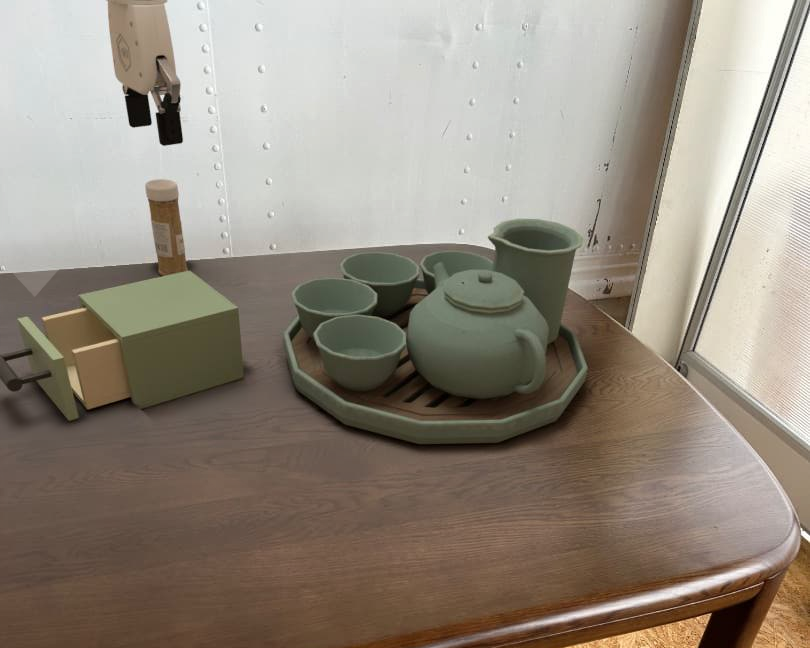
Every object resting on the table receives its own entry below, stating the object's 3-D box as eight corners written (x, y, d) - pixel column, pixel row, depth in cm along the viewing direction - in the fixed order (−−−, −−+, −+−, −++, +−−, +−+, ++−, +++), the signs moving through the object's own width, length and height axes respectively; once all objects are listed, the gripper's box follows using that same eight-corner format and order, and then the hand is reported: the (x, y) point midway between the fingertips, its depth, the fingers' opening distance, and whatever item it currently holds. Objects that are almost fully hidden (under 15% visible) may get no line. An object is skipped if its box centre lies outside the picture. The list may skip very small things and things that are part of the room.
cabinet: (135, 411, 94) (121, 337, 87) (94, 366, 101) (78, 294, 94) (244, 377, 101) (238, 307, 94) (198, 338, 108) (189, 270, 102)
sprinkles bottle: (193, 274, 123) (183, 184, 114) (168, 281, 121) (155, 190, 112) (178, 264, 126) (166, 176, 117) (152, 271, 123) (138, 181, 114)
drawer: (25, 434, 87) (6, 371, 82) (-8, 388, 94) (-28, 328, 88) (178, 388, 96) (169, 329, 91) (138, 350, 103) (128, 293, 98)
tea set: (395, 279, 127) (401, 170, 116) (626, 359, 111) (658, 243, 100) (219, 373, 101) (205, 246, 90) (487, 495, 86) (510, 359, 75)
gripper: (79, -23, 102) (105, 122, 113) (135, -1, 92) (158, 155, 103) (134, -24, 105) (154, 116, 117) (194, -4, 96) (209, 147, 107)
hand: (155, 134), depth 110 cm, fingers open, 9 cm apart
